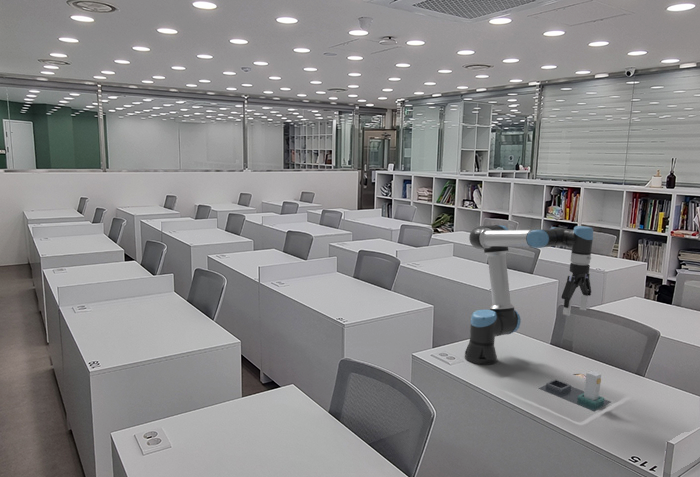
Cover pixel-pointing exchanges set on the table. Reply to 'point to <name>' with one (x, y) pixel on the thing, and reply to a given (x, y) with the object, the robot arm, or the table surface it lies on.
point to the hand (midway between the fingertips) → (574, 312)
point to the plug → (592, 385)
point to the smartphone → (580, 375)
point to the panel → (573, 395)
